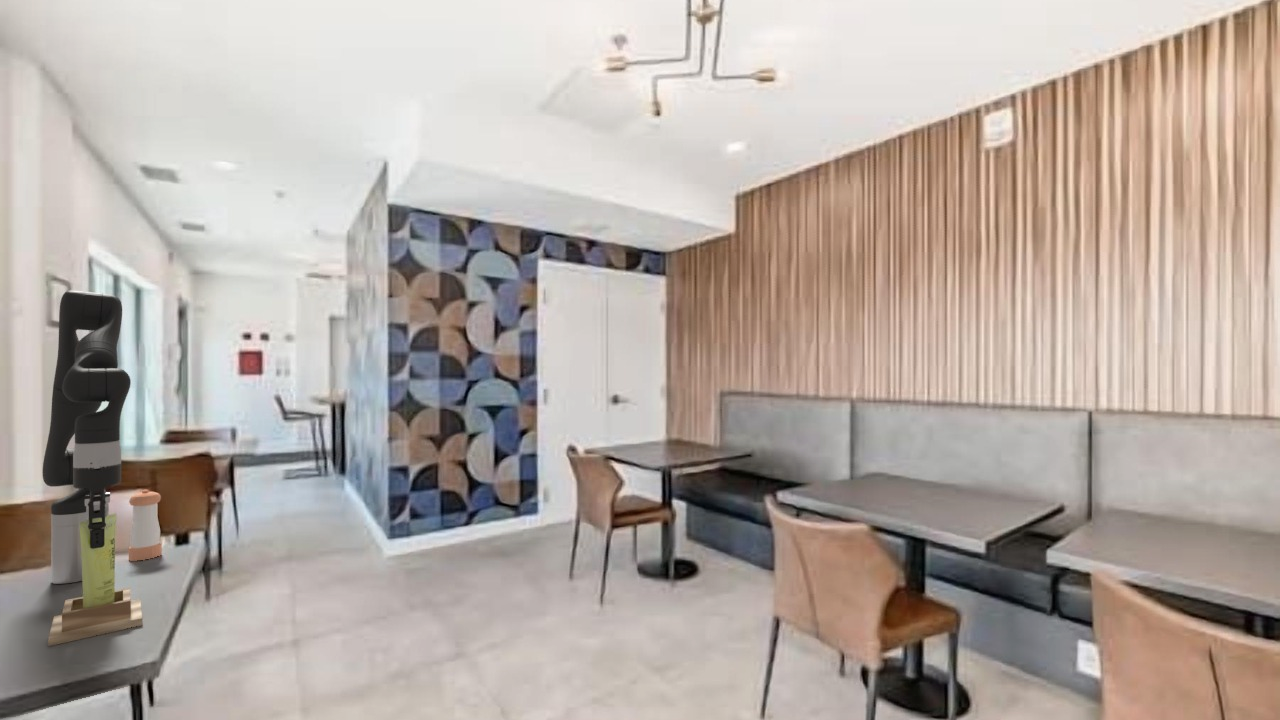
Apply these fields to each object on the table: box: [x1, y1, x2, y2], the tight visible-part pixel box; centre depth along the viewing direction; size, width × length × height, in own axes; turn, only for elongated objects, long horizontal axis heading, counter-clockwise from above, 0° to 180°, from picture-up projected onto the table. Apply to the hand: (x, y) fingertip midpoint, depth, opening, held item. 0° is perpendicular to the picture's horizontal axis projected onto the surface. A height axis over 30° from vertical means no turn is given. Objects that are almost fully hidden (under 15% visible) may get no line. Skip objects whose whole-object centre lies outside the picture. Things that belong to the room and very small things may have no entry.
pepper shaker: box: [128, 489, 163, 562], centre depth 172 cm, size 7×7×19 cm
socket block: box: [47, 587, 143, 647], centre depth 126 cm, size 14×14×5 cm
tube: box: [79, 512, 117, 608], centre depth 127 cm, size 6×5×20 cm
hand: (97, 544), depth 127 cm, fingers closed on tube, 4 cm apart
